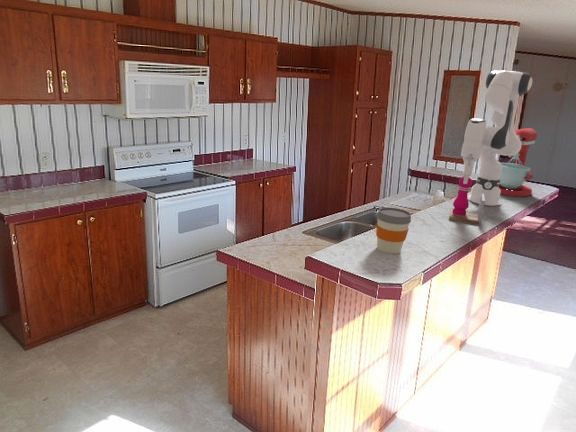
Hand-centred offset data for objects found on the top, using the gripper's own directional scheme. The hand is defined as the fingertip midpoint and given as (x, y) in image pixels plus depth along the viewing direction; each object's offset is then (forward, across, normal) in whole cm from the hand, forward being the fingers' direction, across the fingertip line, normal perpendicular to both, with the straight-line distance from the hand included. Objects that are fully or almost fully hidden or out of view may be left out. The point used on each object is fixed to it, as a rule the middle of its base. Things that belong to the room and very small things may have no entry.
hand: (465, 181), depth 225 cm
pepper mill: (+16, 0, 0) cm, 16 cm away
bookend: (+18, 0, -3) cm, 18 cm away
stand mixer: (+18, +86, -30) cm, 93 cm away
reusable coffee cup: (+18, -65, +24) cm, 72 cm away
